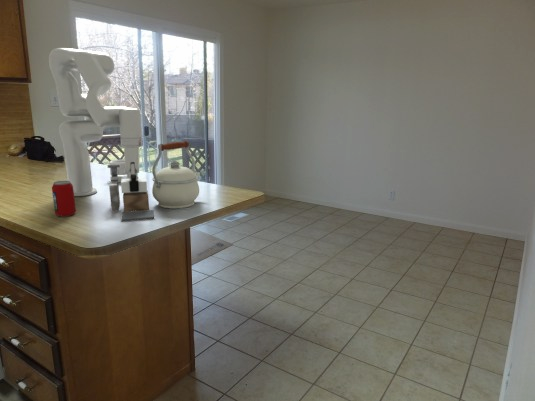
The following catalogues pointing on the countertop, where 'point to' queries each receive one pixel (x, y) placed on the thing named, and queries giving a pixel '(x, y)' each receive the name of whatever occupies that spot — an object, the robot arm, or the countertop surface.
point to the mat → (137, 215)
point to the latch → (114, 173)
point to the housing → (128, 199)
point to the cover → (126, 186)
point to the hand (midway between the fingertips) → (134, 188)
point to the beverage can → (63, 198)
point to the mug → (119, 168)
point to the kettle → (175, 181)
